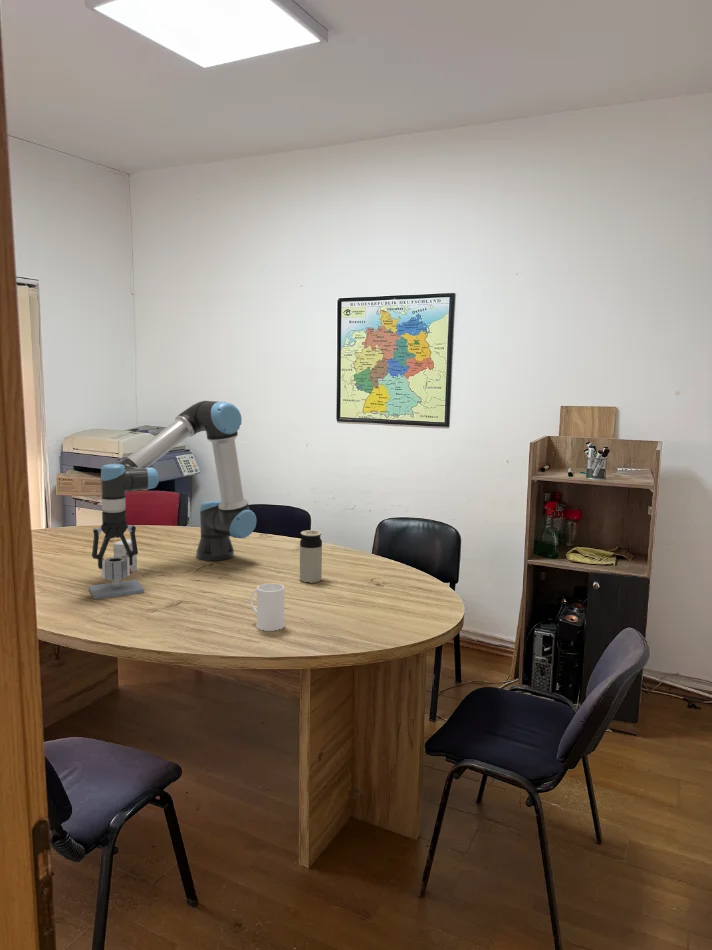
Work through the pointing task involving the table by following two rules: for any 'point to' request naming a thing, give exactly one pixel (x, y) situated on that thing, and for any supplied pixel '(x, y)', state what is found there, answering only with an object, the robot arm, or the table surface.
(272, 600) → the mug
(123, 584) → the shaft stand
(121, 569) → the cylinder
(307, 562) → the travel mug
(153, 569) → the table surface
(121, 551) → the ink box
